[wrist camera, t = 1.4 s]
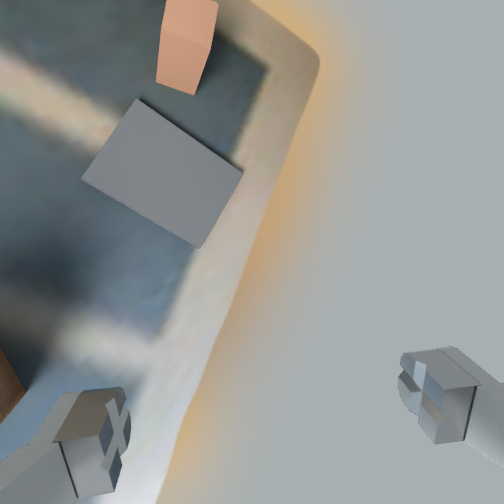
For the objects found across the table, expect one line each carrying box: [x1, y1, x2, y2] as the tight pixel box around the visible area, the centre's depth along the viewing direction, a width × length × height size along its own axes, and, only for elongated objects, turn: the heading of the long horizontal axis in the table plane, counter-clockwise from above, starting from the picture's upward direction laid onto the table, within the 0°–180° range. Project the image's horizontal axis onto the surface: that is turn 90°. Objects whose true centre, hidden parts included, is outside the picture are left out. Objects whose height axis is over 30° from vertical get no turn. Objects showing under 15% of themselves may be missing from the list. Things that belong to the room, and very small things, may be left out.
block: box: [156, 0, 219, 95], centre depth 36 cm, size 5×5×10 cm
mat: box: [81, 98, 243, 249], centre depth 40 cm, size 16×12×1 cm
